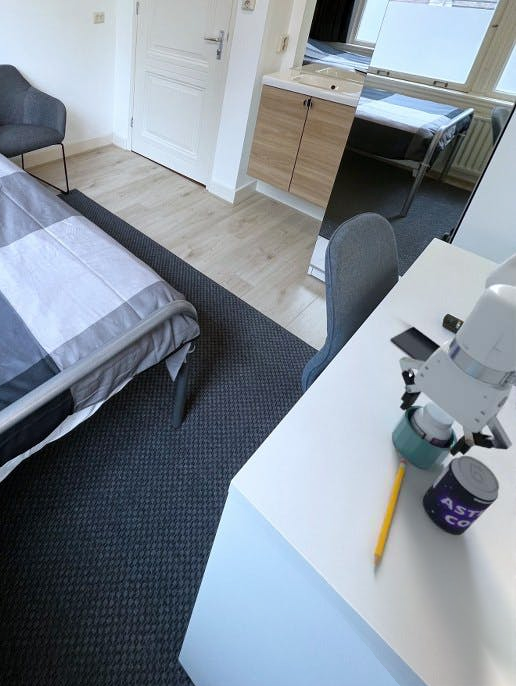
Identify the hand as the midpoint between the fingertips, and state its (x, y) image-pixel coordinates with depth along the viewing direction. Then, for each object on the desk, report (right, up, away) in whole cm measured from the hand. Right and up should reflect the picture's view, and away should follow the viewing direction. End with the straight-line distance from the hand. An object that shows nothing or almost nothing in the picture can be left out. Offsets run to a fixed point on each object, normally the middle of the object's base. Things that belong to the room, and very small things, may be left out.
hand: (430, 427), depth 72 cm
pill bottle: (0, -5, +3) cm, 6 cm away
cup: (0, -5, +3) cm, 6 cm away
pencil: (-11, -9, -6) cm, 16 cm away
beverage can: (-3, -10, -6) cm, 12 cm away
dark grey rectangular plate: (+17, +4, +23) cm, 29 cm away
